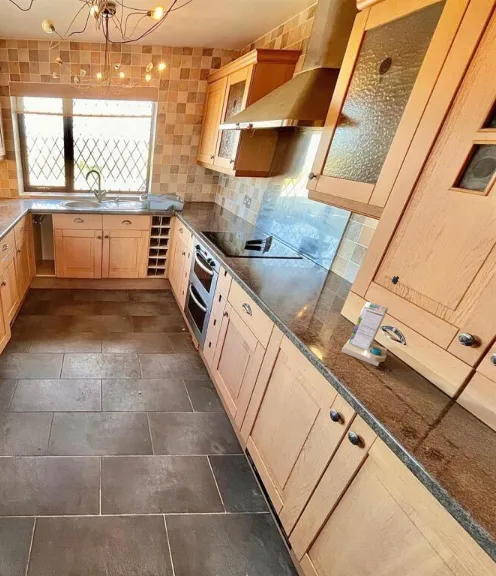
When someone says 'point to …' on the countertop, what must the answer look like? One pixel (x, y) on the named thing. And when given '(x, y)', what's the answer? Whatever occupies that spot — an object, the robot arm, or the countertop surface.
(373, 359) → the scale
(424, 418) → the countertop surface
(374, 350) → the tare button
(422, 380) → the countertop surface
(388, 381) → the countertop surface
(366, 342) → the syrup box
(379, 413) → the countertop surface
